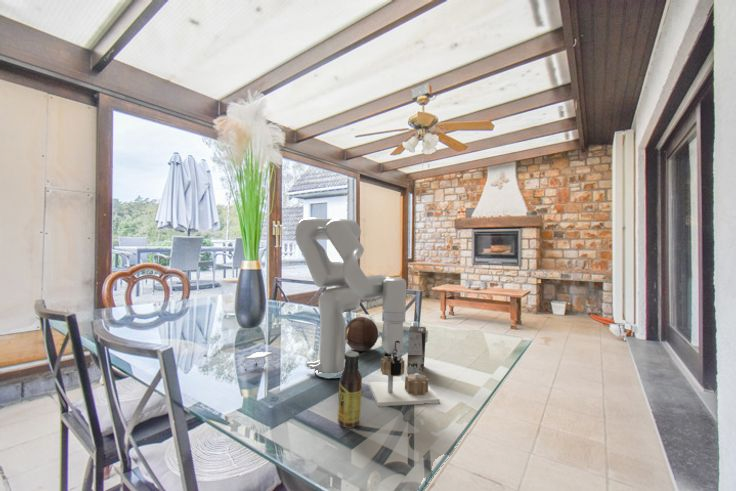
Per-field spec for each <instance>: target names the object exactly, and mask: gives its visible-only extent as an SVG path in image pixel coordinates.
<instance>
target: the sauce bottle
mask: <svg viewBox="0 0 736 491" xmlns="http://www.w3.org/2000/svg"><path fill="white" fill-rule="evenodd" d="M359 360H360V352H359V351H356V350H353V351H352V350H349V351H345V364H344V366H345V367H344V371H343V373H342V376H341V378H340V379H339V383H338V402H337V403H338V407H337V420H338V424H339V425H340V426H341V427H342V428H348V429H350V428H355V427H358V425H359V424H360V421H361V407H362V390H363V387H362V382H363V379H362V374H361V372H360V371H359Z"/></svg>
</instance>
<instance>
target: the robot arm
mask: <svg viewBox="0 0 736 491" xmlns="http://www.w3.org/2000/svg"><path fill="white" fill-rule="evenodd" d="M361 232H362V231H361V226H360V225H359V224H358V222H356V220H352V219H345V218H344V219H343V218H326V217H324V218H323V217H304V218H302V219H301V220H300V221H299V222H298V223H297V225H296V227H295V241H296V245H297V247H298V248H299V250H300V252H301V254H302V256H303V257H304V260H305V263H306V266H307V268H308V271H309V273H310V276H311V279H312V280H313V283H314V285H316V286H317V288H321V289H322V288H328V289H325V290H324V291H323V292H321V294H320V295H319V297H318V301H317V302H318V310H319V319H320V320H319V321H320V325H319V331H320V332H319V349H318V350H319V352H318V353H319V355H318V356H319V357H318V358H317V360H315V361H306V368H309V370H314V372H315V371H316V370H318V373H319V372H322V373H329V374H330V373H338V372H341V371H343V370H344V366H345V353H346V340H345V339H346V326H347V324H346V320H345V318H344V316H343V314H344V313H347V312H351V311H354V310H356V309H358V308H359V306H360V304H361V302H362V301H361V300H366V301H367V300H368V301H369V300H372V299H373V300H374V299H377V298H378V299H379V298H381V297H382V311H381V312H382V313H381V314H382V315H381V317H382V318H381V320H382V323H383V324H382V335H381V346H382V348H383V350H384V357H385V356H391V357H392V362H391V375H392V376H393V375H401V376H402V374H401V358H403V357H402V356H403V352H404V323H405V322H406V312H407V311H406V309H407V307H406V305H407V282H406V279H405V278H403V277H402V278H401V277H390V276H387V275H385V274H375V275H374V274H371V275H367V276H366V274H365V273H364V272H363V270H362V269H361V266H360V265H359V262H358V260H359V259H360V258H361V257H362V256H363V254H364V252H365V249H364V248H365V247H364V246H363V245H362V244H361V242H360V241H359V239H360V236H361ZM318 240H324V241H325V240H328V241H330V243H331V245H332V246H333V247H334V249H335V250H336V251H337V253H338V255H339V256H340V258H341V260H343V262H340V261H332V260H330V259H329V256H328V253H327V251H326V249H325V248H324V247H323V246H322V245H321V243H320V242H318ZM331 287H332V288H331ZM394 356H395V358H394Z"/></svg>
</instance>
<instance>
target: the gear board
mask: <svg viewBox="0 0 736 491" xmlns="http://www.w3.org/2000/svg"><path fill="white" fill-rule="evenodd" d="M368 386H369V390H370V391H371V394H372V396H373V398H374V401H375V403H376V405H377V407H391V406H392V407H393V406H405V405H406V406H408V405H410V406H411V405H425V404H424V403H429V404H439V403H440V397H438V395H437V394H436V393H435V392H434V391H433V389H432V388H431V387H430V385H429V378H427V376H426V375H424V374H423V375H420V374H418V373H415V374H412V373H407V375H405V377H404V380H394V377H389V376H388V377H387V381H372V382H370V381H369V382H368Z"/></svg>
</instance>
